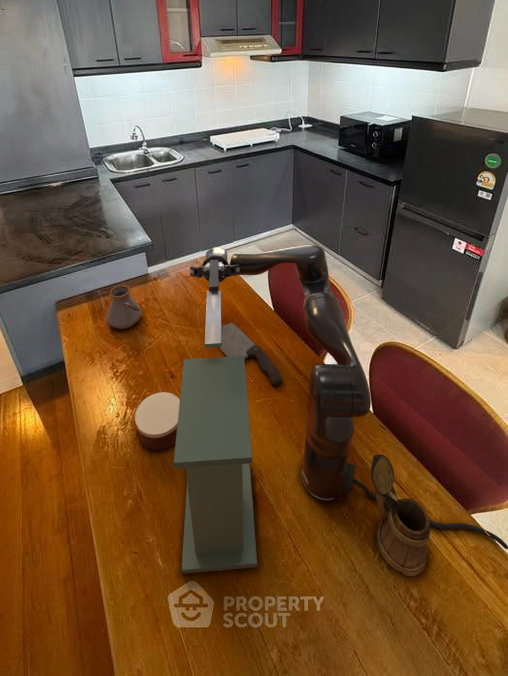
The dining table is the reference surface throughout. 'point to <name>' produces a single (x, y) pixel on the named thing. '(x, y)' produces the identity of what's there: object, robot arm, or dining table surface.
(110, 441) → the dining table surface
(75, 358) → the dining table surface
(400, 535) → the wooden mug
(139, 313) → the coffee pot
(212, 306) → the knife
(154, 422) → the cake
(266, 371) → the cleaver
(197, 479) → the display stand
